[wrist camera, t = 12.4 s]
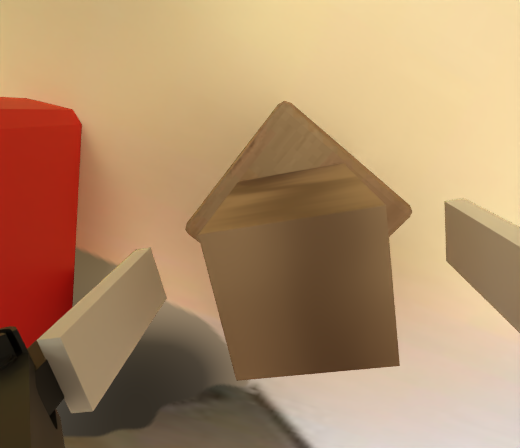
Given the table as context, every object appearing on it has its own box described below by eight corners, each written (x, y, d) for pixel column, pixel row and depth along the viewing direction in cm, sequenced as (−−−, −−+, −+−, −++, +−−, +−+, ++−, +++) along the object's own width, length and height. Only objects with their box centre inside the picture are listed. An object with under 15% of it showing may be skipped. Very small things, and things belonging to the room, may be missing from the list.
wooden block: (355, 162, 38) (418, 212, 19) (297, 226, 41) (303, 324, 22) (288, 104, 37) (283, 96, 18) (233, 174, 40) (179, 231, 21)
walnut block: (258, 273, 21) (236, 380, 13) (238, 181, 20) (198, 234, 11) (354, 260, 21) (399, 365, 12) (343, 162, 19) (385, 205, 10)
